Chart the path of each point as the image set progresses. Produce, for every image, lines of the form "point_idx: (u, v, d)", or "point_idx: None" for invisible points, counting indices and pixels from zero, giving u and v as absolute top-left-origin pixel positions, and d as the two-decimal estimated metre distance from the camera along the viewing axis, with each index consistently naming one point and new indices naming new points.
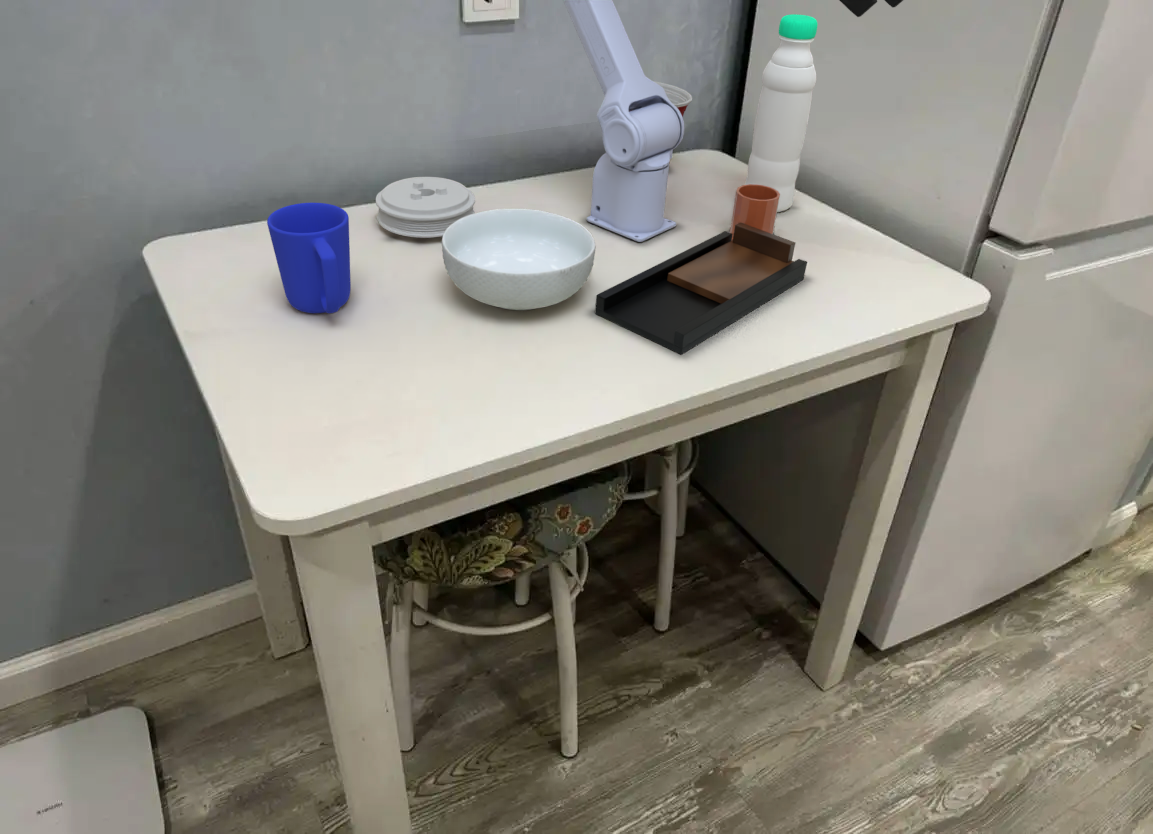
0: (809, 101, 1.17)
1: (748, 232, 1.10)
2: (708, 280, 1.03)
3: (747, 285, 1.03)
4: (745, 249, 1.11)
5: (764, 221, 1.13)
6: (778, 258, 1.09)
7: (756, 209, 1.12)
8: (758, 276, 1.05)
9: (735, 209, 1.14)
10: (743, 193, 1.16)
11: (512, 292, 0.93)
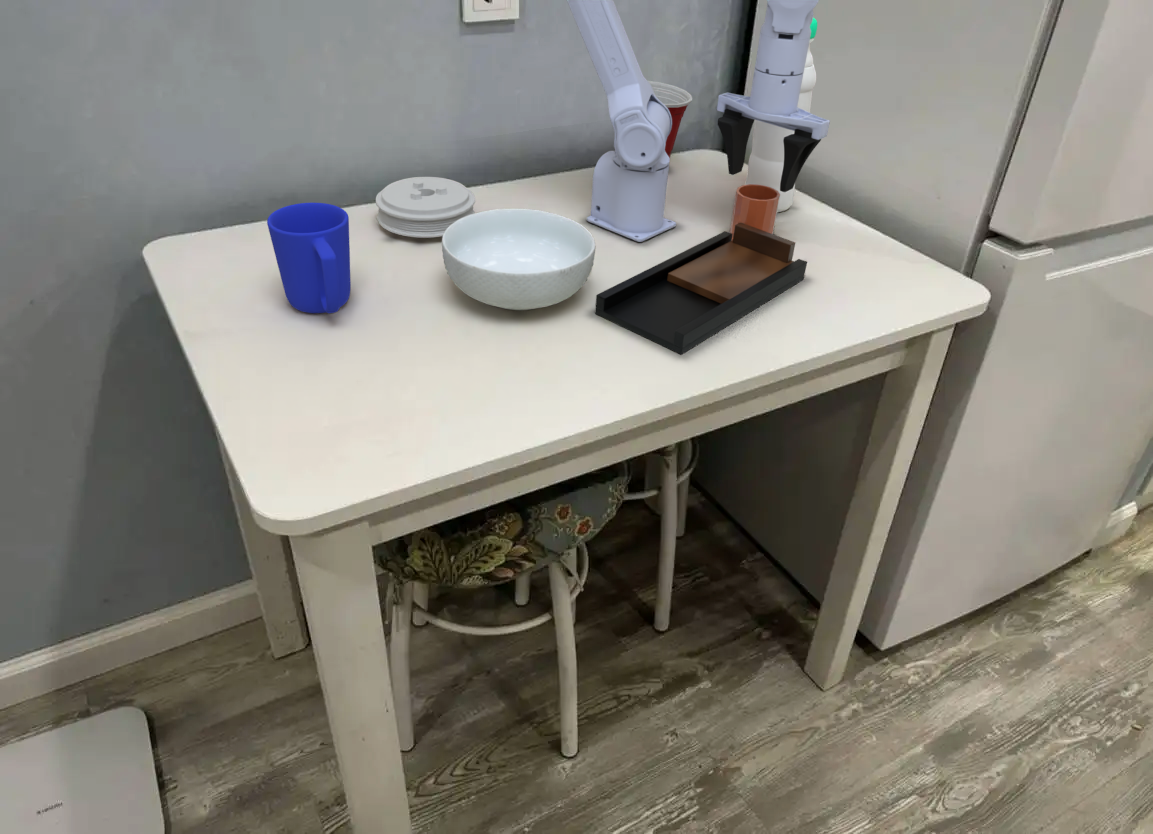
0: (809, 100, 1.17)
1: (748, 232, 1.10)
2: (708, 280, 1.03)
3: (747, 285, 1.03)
4: (745, 249, 1.11)
5: (764, 221, 1.13)
6: (778, 258, 1.09)
7: (756, 209, 1.12)
8: (758, 276, 1.05)
9: (735, 209, 1.14)
10: (743, 193, 1.16)
11: (512, 292, 0.93)
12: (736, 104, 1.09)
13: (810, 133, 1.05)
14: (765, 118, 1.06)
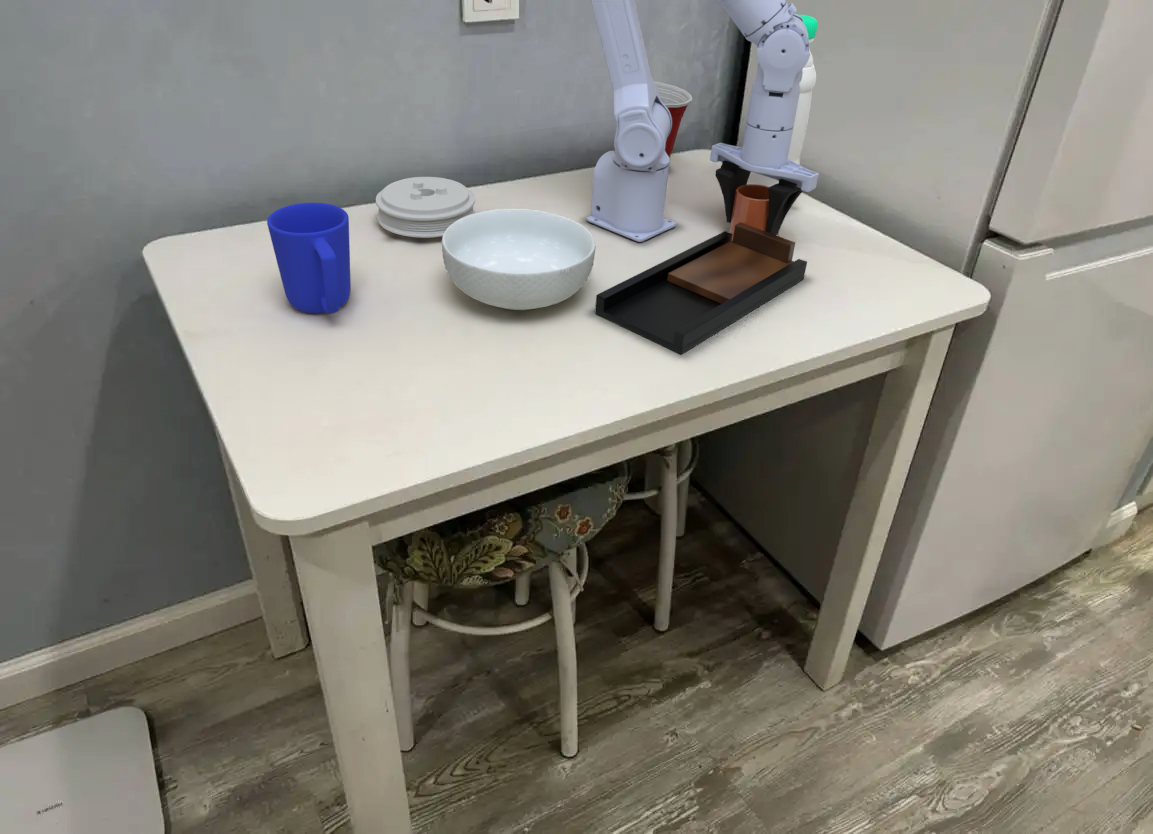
0: (809, 100, 1.17)
1: (748, 232, 1.10)
2: (708, 280, 1.03)
3: (747, 285, 1.03)
4: (745, 249, 1.11)
5: (764, 221, 1.13)
6: (778, 258, 1.09)
7: (755, 209, 1.12)
8: (758, 276, 1.05)
9: (735, 209, 1.14)
10: (743, 193, 1.16)
11: (512, 292, 0.93)
12: (728, 155, 1.12)
13: (794, 183, 1.09)
14: (756, 170, 1.09)
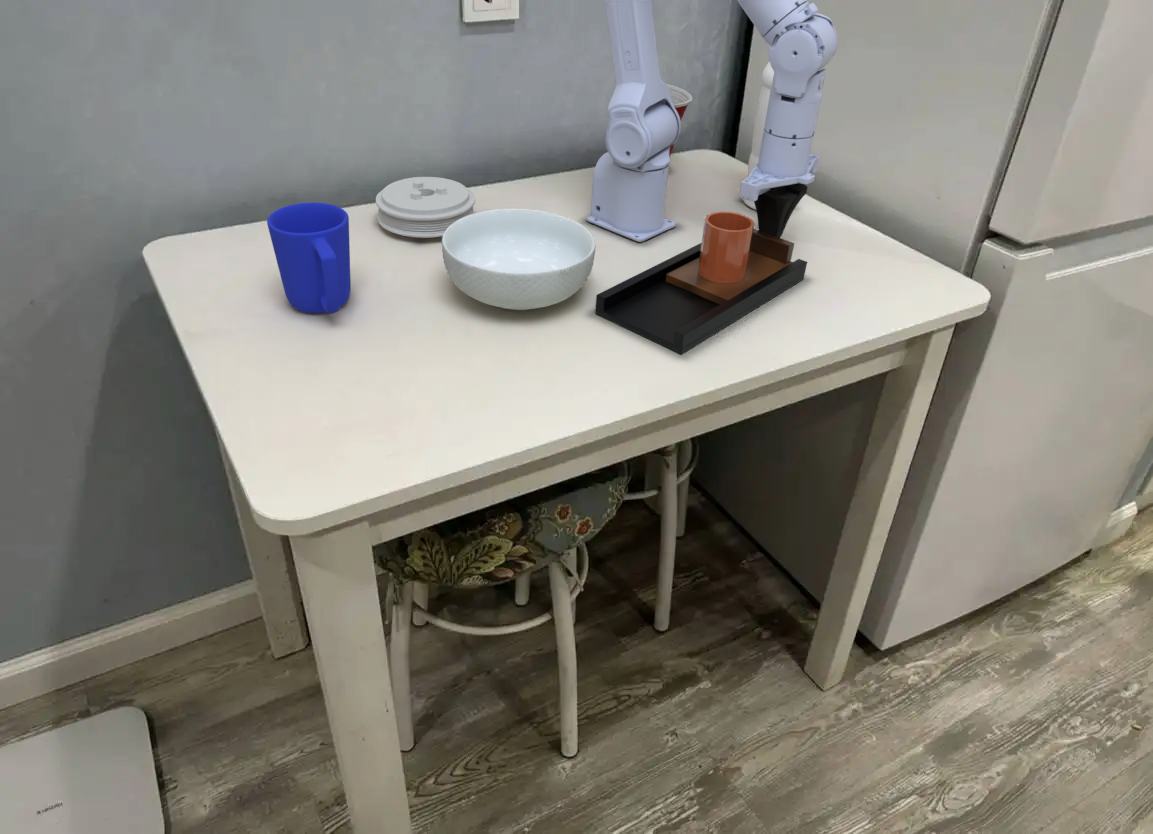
0: None
1: None
2: (706, 280, 1.03)
3: (746, 285, 1.03)
4: None
5: (737, 254, 1.01)
6: (777, 259, 1.08)
7: (726, 240, 1.00)
8: (757, 277, 1.05)
9: (704, 240, 1.02)
10: (713, 222, 1.03)
11: (512, 292, 0.93)
12: None
13: None
14: None
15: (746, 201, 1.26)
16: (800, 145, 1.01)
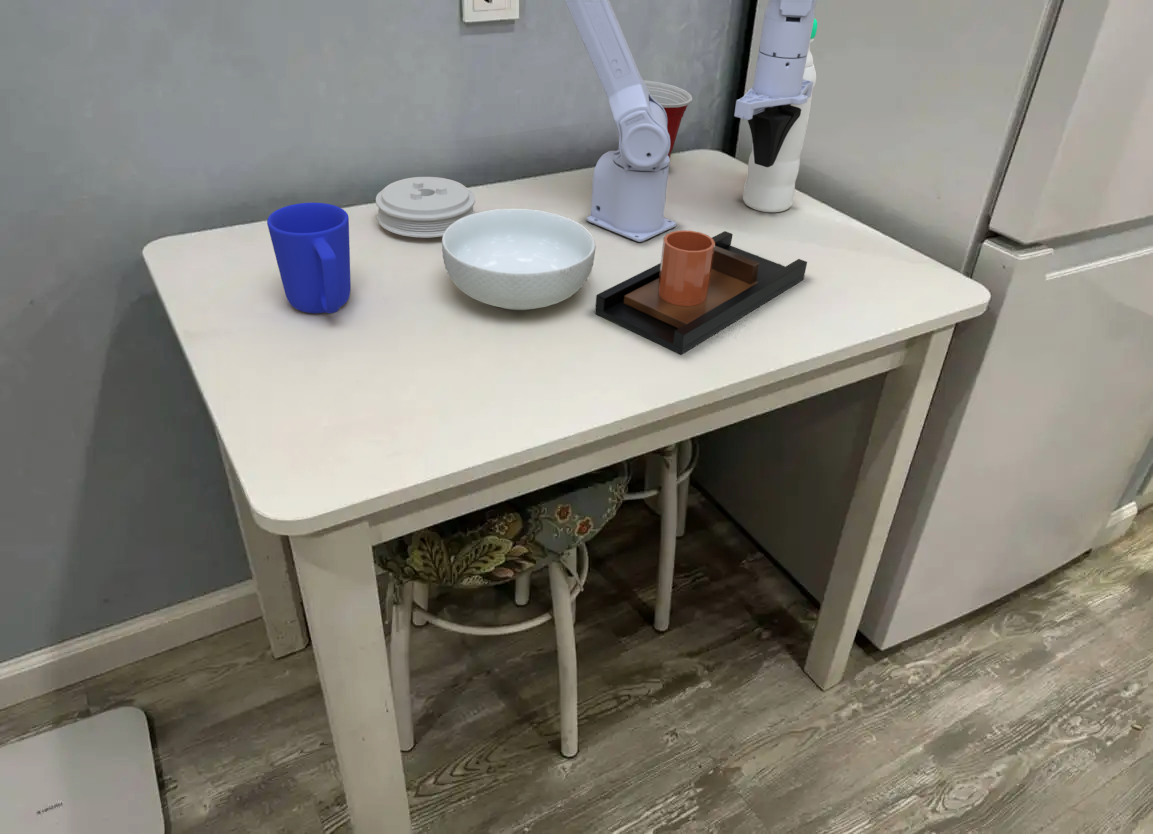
0: (809, 100, 1.17)
1: None
2: (666, 303, 0.98)
3: (707, 308, 0.98)
4: None
5: (696, 275, 0.96)
6: (741, 279, 1.04)
7: (685, 261, 0.95)
8: (719, 299, 1.00)
9: (663, 260, 0.97)
10: (673, 241, 0.99)
11: (512, 292, 0.93)
12: None
13: None
14: None
15: (746, 201, 1.26)
16: (793, 65, 1.04)
